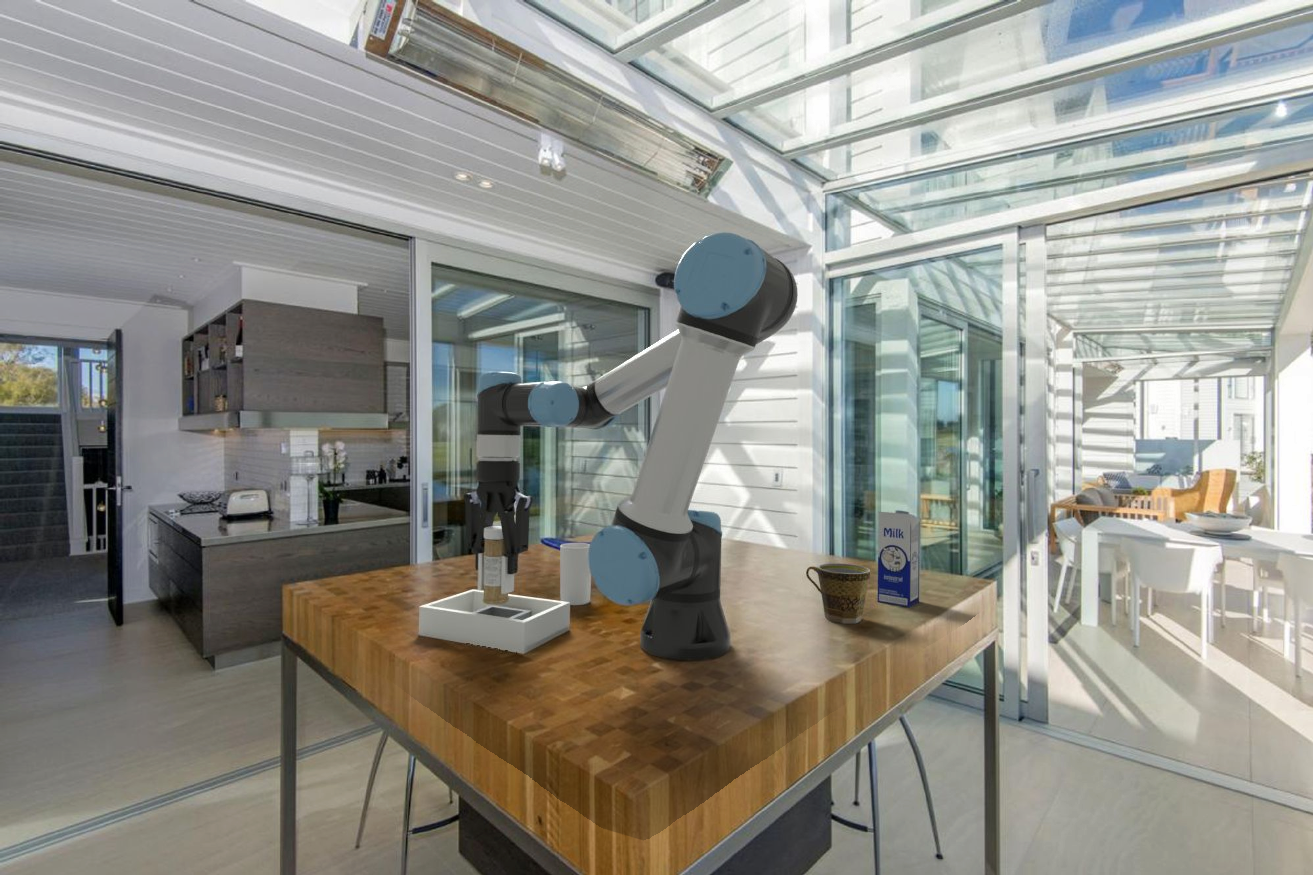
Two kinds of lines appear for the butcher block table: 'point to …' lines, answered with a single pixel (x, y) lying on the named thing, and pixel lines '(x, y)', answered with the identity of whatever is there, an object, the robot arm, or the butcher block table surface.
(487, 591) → the sprinkles bottle
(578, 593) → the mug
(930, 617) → the butcher block table surface
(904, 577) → the milk carton
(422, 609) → the tray
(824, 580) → the ceramic cup
